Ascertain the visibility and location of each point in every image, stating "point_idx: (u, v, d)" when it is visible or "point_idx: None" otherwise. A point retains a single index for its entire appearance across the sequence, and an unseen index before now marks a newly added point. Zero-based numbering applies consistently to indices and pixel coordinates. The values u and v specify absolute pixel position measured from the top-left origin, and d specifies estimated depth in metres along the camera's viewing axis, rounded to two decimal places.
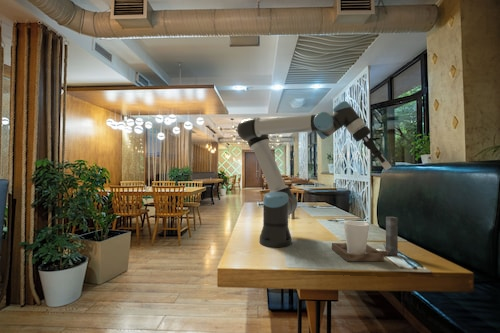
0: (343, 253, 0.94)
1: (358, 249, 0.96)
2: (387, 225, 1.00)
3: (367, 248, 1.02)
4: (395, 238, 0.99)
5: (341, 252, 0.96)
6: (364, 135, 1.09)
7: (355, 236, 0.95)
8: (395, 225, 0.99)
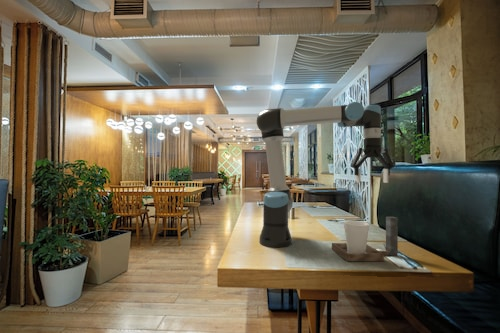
0: (343, 253, 0.94)
1: (358, 249, 0.96)
2: (387, 225, 1.00)
3: (367, 248, 1.02)
4: (395, 238, 0.99)
5: (341, 252, 0.96)
6: (365, 145, 1.16)
7: (355, 236, 0.95)
8: (395, 225, 0.99)
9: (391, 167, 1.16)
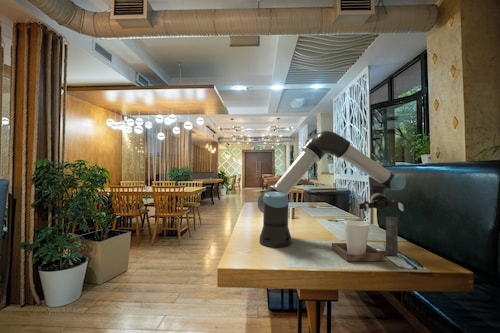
0: (343, 253, 0.94)
1: (358, 249, 0.96)
2: (387, 225, 1.00)
3: (367, 248, 1.02)
4: (395, 238, 0.99)
5: (341, 252, 0.96)
6: None
7: (355, 236, 0.95)
8: (395, 225, 0.99)
9: (361, 208, 1.19)
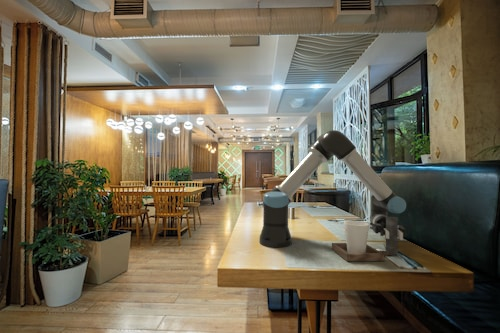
0: (343, 253, 0.94)
1: (358, 249, 0.96)
2: (387, 225, 1.00)
3: (367, 248, 1.02)
4: (395, 238, 0.99)
5: (341, 252, 0.96)
6: None
7: (355, 236, 0.95)
8: (395, 225, 0.99)
9: (378, 232, 1.03)
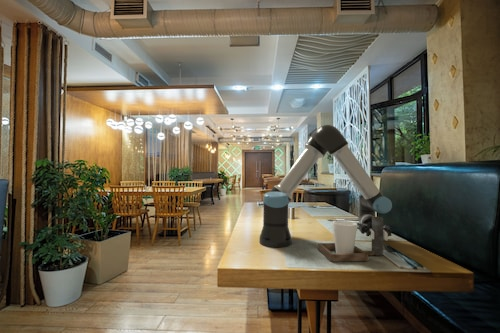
0: (328, 253, 0.94)
1: (345, 249, 0.95)
2: (373, 225, 1.00)
3: None
4: (380, 238, 0.98)
5: (326, 252, 0.96)
6: None
7: (342, 236, 0.95)
8: (380, 225, 0.98)
9: None
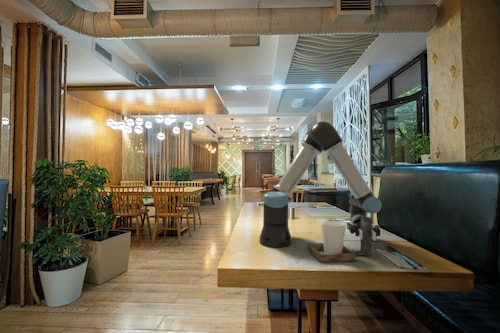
0: (316, 253, 0.94)
1: (333, 249, 0.95)
2: (362, 225, 1.00)
3: (342, 248, 1.01)
4: (369, 238, 0.98)
5: (314, 252, 0.95)
6: None
7: (331, 236, 0.95)
8: (369, 225, 0.98)
9: None
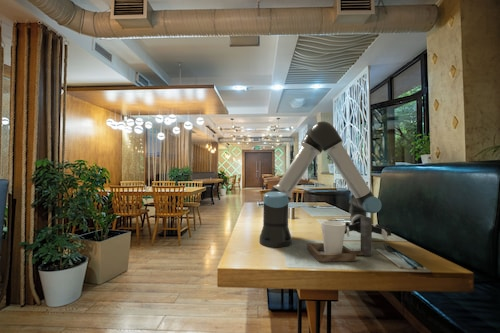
0: (315, 253, 0.94)
1: (333, 249, 0.95)
2: (361, 225, 1.00)
3: (342, 248, 1.01)
4: (369, 238, 0.98)
5: (314, 252, 0.95)
6: None
7: (331, 236, 0.95)
8: (369, 225, 0.98)
9: None
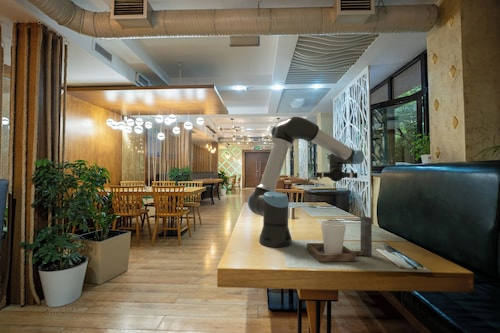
0: (315, 253, 0.94)
1: (333, 249, 0.95)
2: (361, 225, 1.00)
3: (342, 248, 1.01)
4: (369, 238, 0.98)
5: (314, 252, 0.95)
6: None
7: (331, 236, 0.95)
8: (369, 225, 0.98)
9: (318, 176, 1.30)
